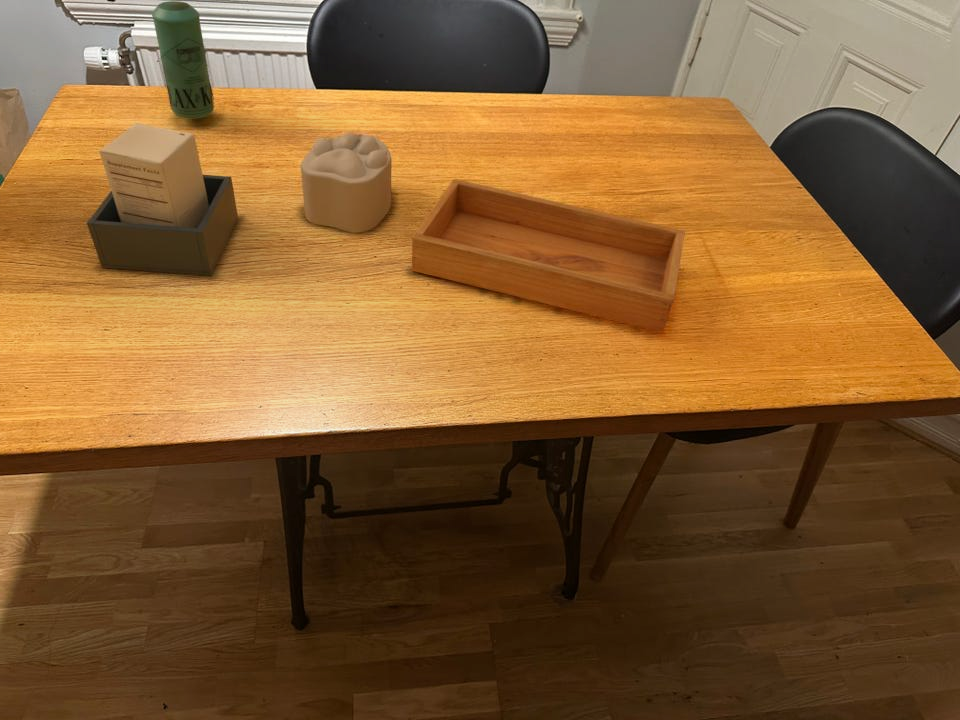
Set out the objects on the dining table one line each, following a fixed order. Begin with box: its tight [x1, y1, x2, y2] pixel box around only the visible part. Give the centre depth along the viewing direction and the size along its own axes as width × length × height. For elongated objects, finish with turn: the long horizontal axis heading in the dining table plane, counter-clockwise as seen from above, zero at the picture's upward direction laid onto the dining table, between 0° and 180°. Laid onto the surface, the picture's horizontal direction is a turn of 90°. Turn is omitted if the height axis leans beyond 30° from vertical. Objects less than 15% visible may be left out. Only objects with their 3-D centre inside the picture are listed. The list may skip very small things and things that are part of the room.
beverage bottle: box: [151, 0, 216, 120], centre depth 102 cm, size 6×7×20 cm
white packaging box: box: [98, 122, 209, 229], centre depth 80 cm, size 7×7×13 cm
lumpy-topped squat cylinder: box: [300, 132, 393, 234], centre depth 92 cm, size 10×13×9 cm
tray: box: [411, 178, 686, 333], centre depth 86 cm, size 31×15×6 cm, turn 73°
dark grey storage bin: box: [86, 173, 239, 277], centre depth 83 cm, size 12×12×6 cm
